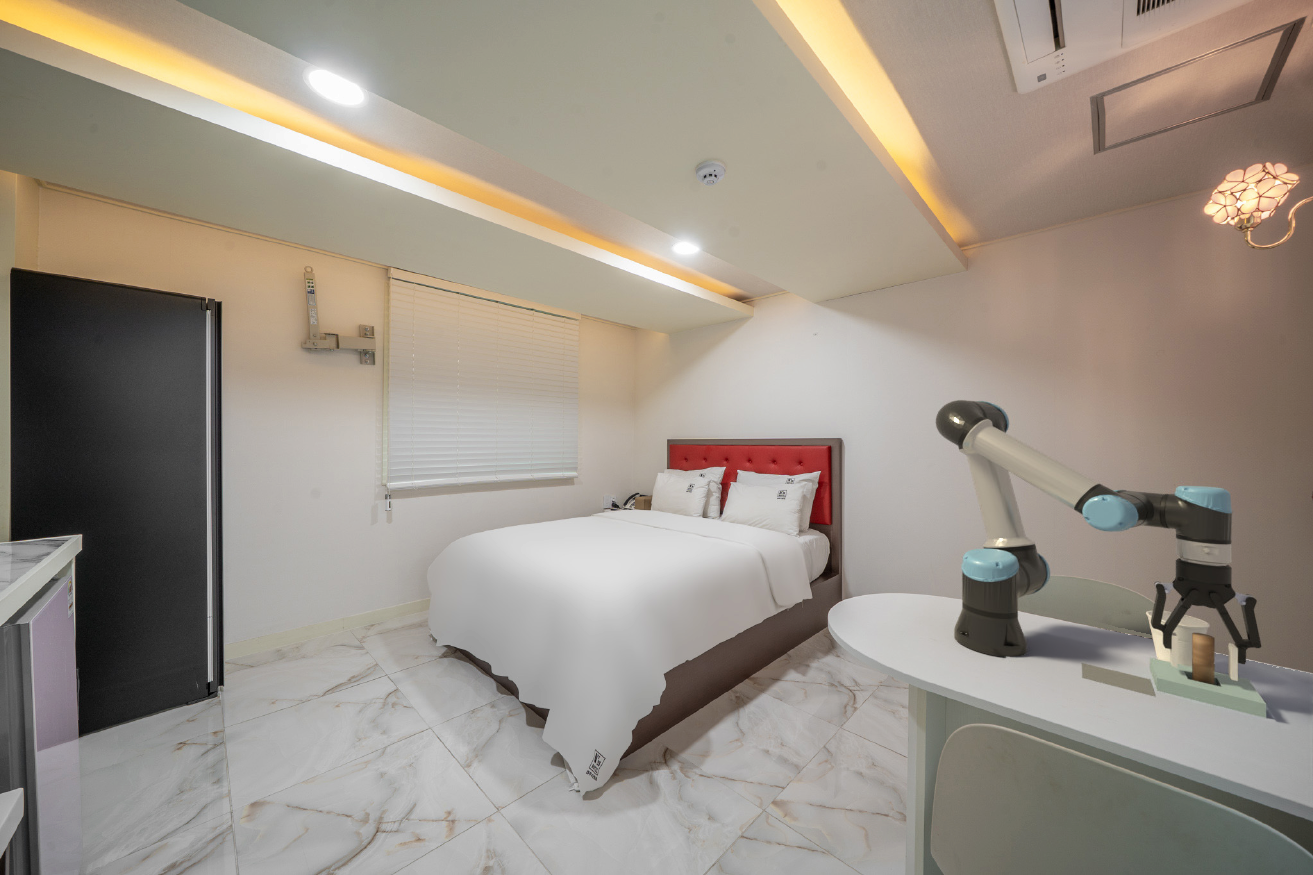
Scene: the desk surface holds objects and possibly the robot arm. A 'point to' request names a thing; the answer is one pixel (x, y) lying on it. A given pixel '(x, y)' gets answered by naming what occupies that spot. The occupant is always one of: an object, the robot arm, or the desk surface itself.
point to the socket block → (1207, 688)
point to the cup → (1183, 634)
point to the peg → (1203, 658)
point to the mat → (1117, 679)
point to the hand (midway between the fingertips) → (1202, 670)
